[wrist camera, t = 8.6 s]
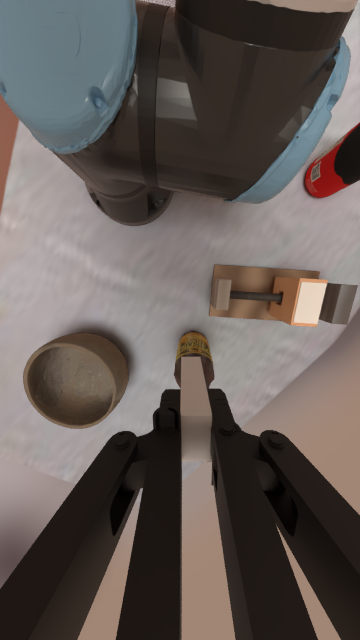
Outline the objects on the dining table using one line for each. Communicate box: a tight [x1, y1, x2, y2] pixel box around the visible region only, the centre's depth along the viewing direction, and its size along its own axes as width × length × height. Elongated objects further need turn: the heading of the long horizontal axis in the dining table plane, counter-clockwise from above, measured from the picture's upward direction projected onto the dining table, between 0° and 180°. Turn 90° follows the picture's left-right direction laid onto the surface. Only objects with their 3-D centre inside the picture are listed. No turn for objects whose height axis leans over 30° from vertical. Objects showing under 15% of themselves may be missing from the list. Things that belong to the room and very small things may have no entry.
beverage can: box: [305, 123, 360, 197], centre depth 29 cm, size 6×6×12 cm
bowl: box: [23, 333, 128, 429], centre depth 39 cm, size 17×18×10 cm
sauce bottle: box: [174, 331, 214, 389], centre depth 33 cm, size 7×6×20 cm
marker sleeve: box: [269, 277, 328, 327], centre depth 33 cm, size 7×4×8 cm, turn 176°
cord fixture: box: [209, 265, 358, 325], centre depth 35 cm, size 20×10×10 cm, turn 86°
